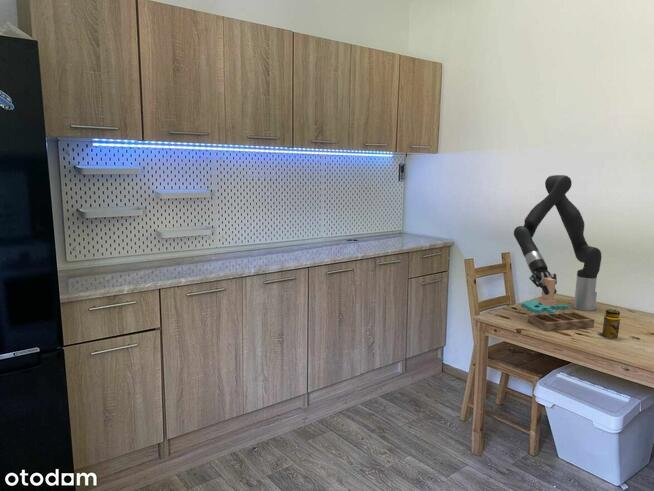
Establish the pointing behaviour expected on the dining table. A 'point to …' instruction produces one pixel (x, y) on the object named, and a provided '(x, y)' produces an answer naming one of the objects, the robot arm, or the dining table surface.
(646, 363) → the dining table surface
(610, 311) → the condiment
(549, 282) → the tan piece
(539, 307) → the alien figure
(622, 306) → the dining table surface
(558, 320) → the rack
